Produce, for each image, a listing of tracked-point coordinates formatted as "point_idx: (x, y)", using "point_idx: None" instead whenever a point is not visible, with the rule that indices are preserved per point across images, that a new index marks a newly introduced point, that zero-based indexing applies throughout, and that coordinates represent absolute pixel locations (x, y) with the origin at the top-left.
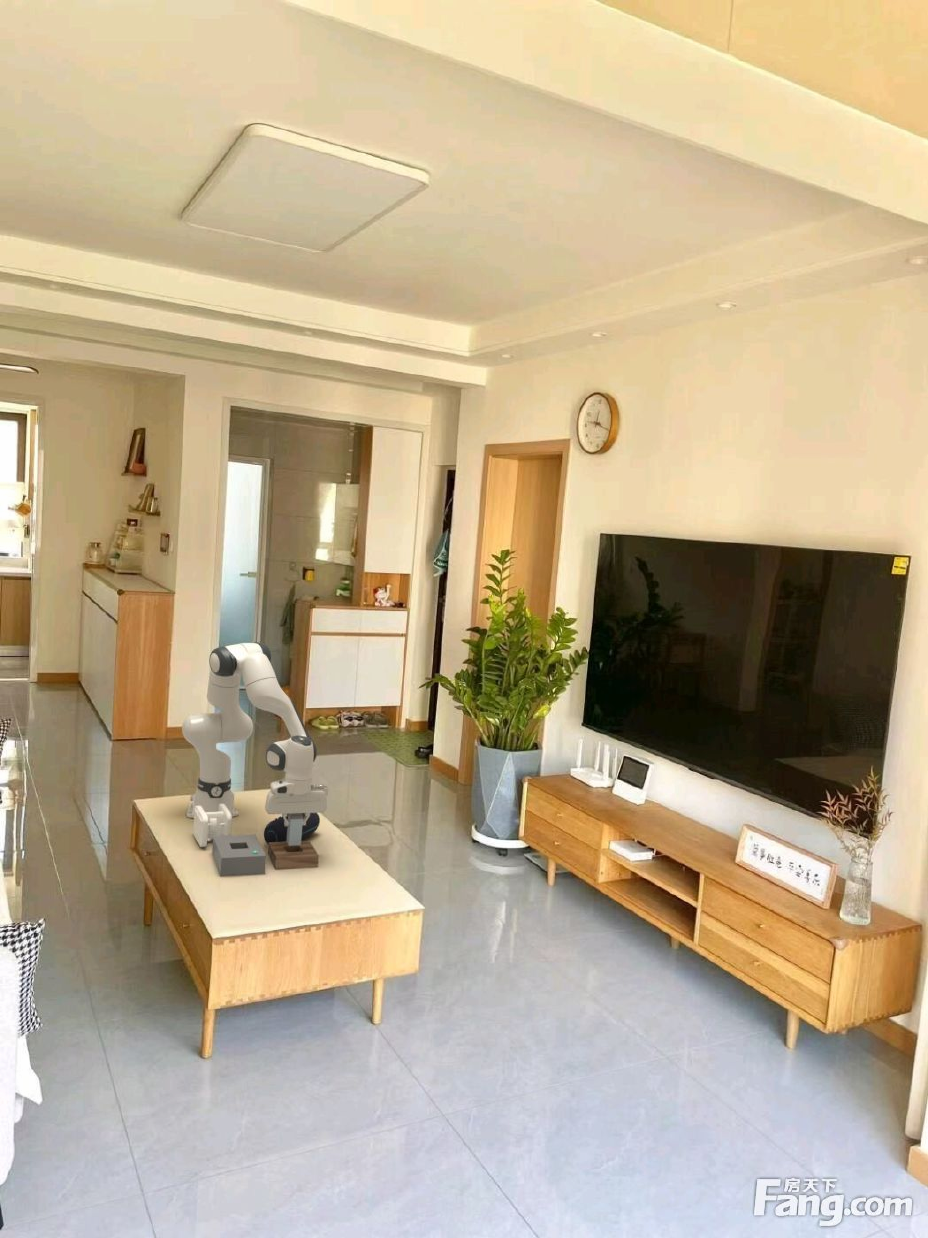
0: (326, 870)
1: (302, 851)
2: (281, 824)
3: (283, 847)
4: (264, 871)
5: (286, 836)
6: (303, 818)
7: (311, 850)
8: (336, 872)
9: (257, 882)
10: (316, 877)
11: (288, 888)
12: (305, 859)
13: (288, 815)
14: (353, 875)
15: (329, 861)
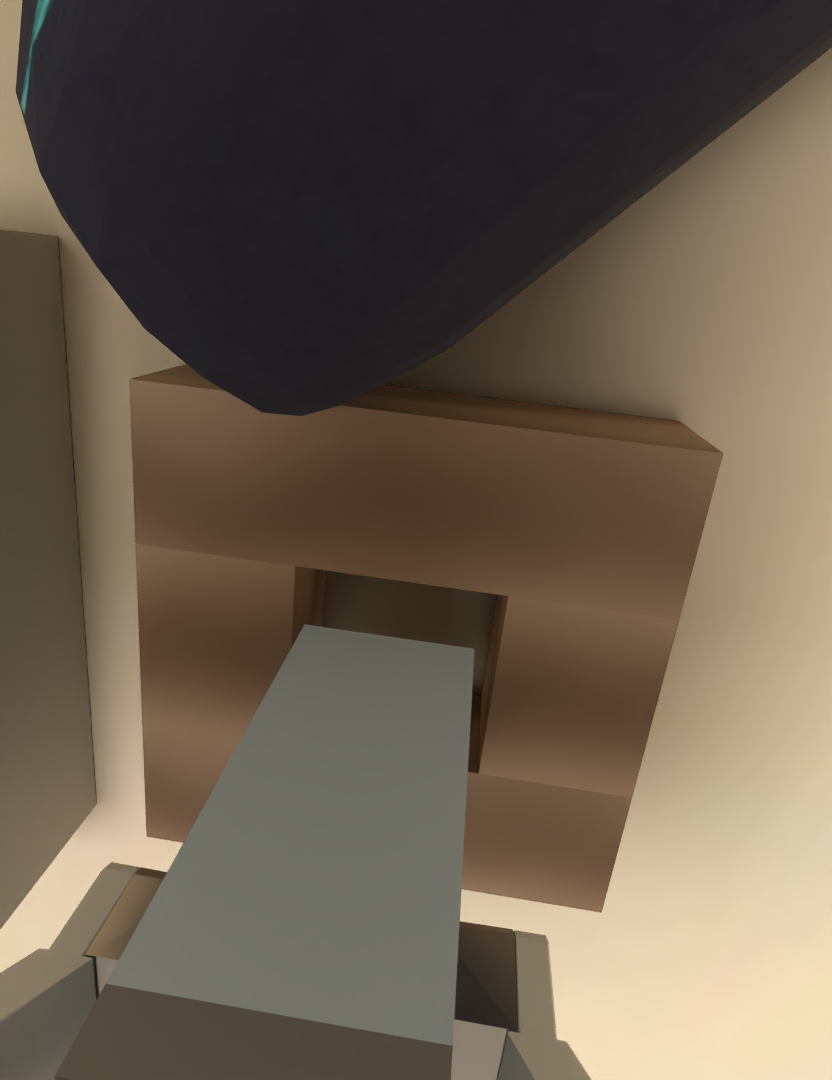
0: (628, 893)
1: (470, 773)
2: (251, 265)
3: (285, 602)
4: (80, 818)
5: (377, 383)
6: (514, 1059)
7: (586, 777)
8: (692, 949)
9: (25, 913)
10: None
11: None
12: None
13: (101, 999)
14: (799, 1034)
15: (768, 731)
